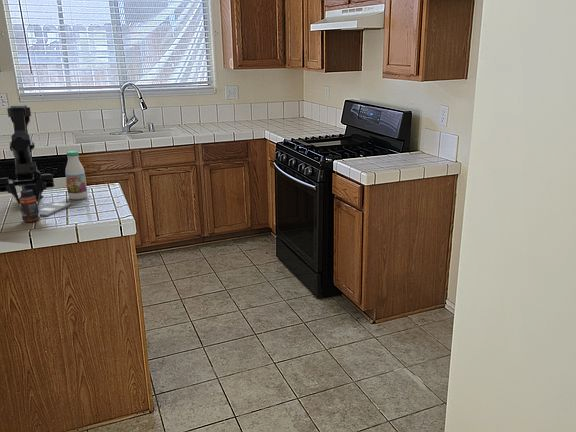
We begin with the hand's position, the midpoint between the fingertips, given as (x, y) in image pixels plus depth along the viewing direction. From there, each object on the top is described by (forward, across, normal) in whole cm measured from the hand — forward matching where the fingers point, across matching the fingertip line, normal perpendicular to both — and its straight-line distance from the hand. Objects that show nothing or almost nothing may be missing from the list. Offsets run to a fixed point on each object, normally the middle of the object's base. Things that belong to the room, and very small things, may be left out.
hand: (28, 202), depth 185 cm
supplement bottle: (+4, 0, +6) cm, 8 cm away
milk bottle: (-15, +18, +26) cm, 35 cm away
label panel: (-4, +6, +15) cm, 17 cm away
